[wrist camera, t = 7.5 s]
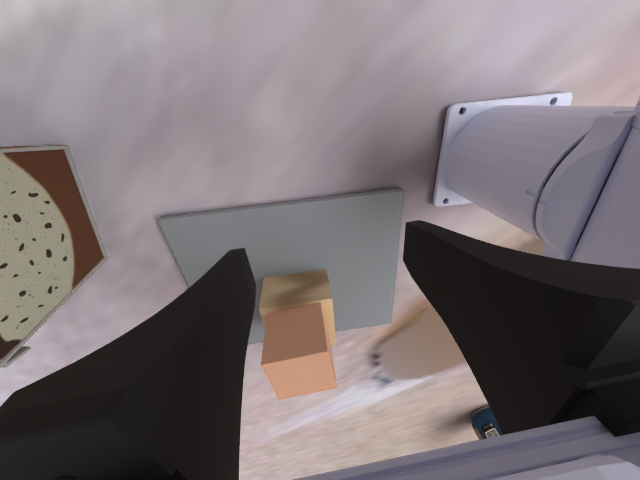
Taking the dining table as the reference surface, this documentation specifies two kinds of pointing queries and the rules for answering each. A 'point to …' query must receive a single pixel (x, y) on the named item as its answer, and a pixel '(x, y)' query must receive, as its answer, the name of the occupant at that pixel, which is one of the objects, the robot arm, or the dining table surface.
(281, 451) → the dining table surface
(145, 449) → the robot arm
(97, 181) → the dining table surface
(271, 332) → the terracotta block
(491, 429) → the soda can
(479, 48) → the dining table surface
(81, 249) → the food container
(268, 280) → the oak base block
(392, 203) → the slate board
